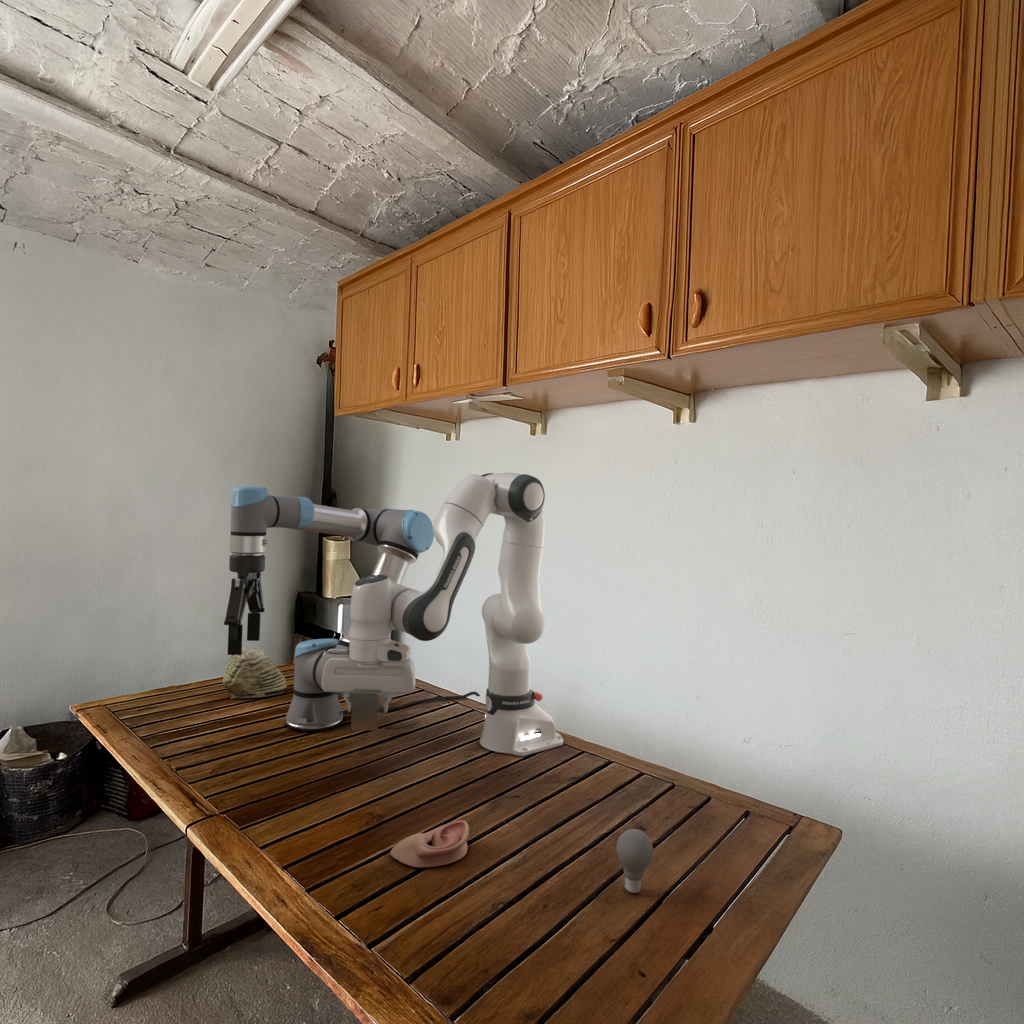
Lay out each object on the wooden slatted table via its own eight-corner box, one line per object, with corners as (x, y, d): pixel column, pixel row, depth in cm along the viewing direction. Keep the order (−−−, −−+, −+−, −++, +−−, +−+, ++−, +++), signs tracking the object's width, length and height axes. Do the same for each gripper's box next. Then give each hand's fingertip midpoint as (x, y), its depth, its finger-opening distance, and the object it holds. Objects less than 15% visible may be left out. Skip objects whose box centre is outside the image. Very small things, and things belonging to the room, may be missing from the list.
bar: (370, 697, 158) (371, 664, 158) (392, 697, 158) (393, 665, 158) (351, 730, 136) (352, 692, 135) (377, 730, 136) (378, 693, 136)
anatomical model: (384, 839, 110) (407, 809, 122) (383, 862, 111) (407, 829, 122) (457, 851, 108) (474, 819, 119) (456, 874, 108) (473, 840, 119)
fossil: (218, 695, 195) (220, 647, 195) (278, 685, 208) (279, 640, 207) (228, 703, 189) (230, 653, 188) (289, 692, 201) (290, 645, 201)
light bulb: (610, 879, 108) (613, 822, 108) (644, 879, 109) (647, 822, 109) (619, 902, 102) (622, 840, 102) (655, 901, 103) (658, 840, 103)
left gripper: (248, 560, 132) (244, 661, 132) (278, 550, 156) (275, 635, 157) (210, 558, 131) (206, 660, 131) (247, 549, 156) (244, 634, 156)
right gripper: (318, 651, 136) (316, 715, 136) (414, 654, 136) (412, 717, 137) (325, 644, 142) (324, 706, 142) (417, 647, 143) (415, 707, 143)
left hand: (244, 647), depth 144 cm, fingers open, 13 cm apart
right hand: (368, 711), depth 139 cm, fingers closed on bar, 5 cm apart
